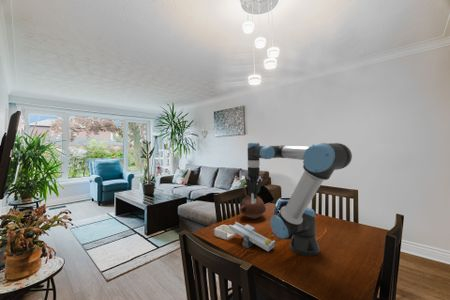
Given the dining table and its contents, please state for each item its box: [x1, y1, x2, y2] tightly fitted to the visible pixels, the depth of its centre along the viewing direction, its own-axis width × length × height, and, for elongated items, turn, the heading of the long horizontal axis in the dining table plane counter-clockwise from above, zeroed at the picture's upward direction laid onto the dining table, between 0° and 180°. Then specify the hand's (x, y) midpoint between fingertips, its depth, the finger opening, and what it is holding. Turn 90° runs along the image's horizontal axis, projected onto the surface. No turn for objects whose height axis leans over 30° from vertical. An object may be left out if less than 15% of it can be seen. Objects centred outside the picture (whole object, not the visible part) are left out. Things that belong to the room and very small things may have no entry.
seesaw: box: [228, 221, 276, 252], centre depth 122 cm, size 28×13×3 cm, turn 49°
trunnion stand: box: [242, 230, 258, 249], centre depth 120 cm, size 4×11×6 cm, turn 139°
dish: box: [213, 224, 237, 241], centre depth 133 cm, size 11×10×4 cm
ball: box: [265, 238, 272, 246], centre depth 112 cm, size 4×4×4 cm
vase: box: [239, 180, 267, 220], centre depth 162 cm, size 25×20×30 cm
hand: (253, 203), depth 130 cm, fingers closed
